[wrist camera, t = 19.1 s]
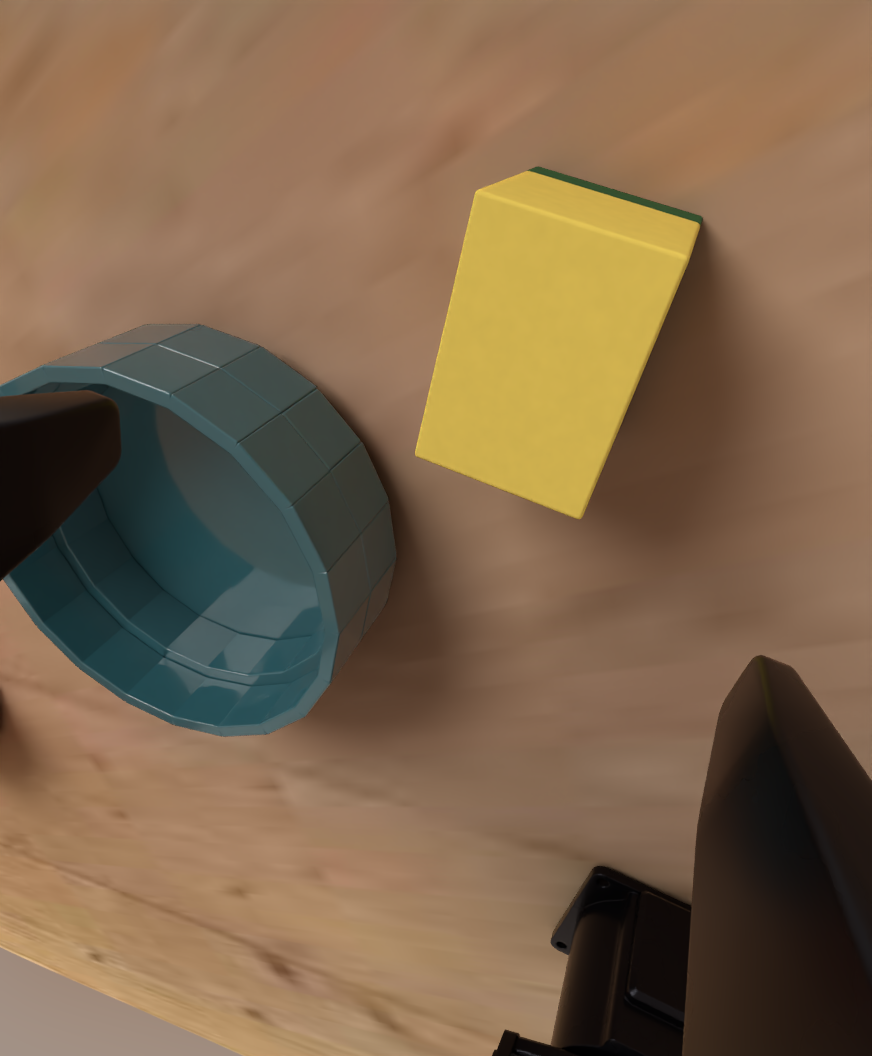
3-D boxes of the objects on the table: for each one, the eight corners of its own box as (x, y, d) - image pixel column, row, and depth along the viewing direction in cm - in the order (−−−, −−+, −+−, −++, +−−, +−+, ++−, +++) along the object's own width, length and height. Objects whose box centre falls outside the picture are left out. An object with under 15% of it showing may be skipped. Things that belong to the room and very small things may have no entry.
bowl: (370, 696, 30) (311, 791, 26) (94, 573, 32) (0, 642, 28) (438, 399, 22) (368, 469, 18) (66, 265, 24) (-70, 301, 20)
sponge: (612, 436, 20) (580, 522, 16) (476, 386, 21) (412, 456, 17) (704, 216, 17) (690, 257, 13) (536, 165, 18) (474, 188, 14)
